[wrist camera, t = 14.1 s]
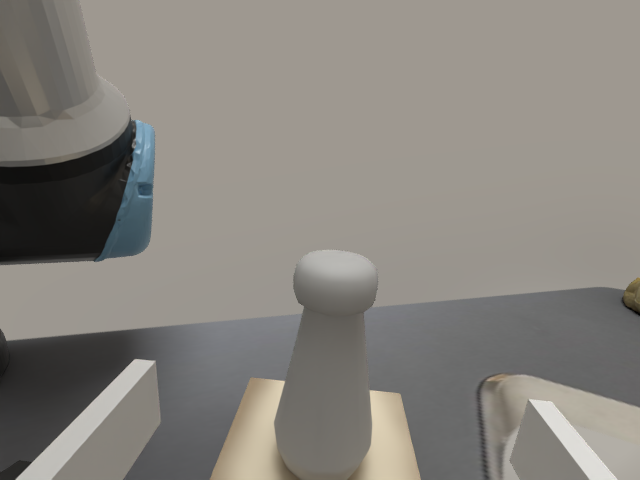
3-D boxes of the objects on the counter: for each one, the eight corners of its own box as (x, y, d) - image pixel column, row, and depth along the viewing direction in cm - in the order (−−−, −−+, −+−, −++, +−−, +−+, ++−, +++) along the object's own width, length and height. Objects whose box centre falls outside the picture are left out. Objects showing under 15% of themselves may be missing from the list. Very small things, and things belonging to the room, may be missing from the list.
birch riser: (179, 607, 15) (175, 564, 14) (250, 407, 26) (250, 377, 25) (437, 644, 14) (450, 601, 13) (395, 423, 26) (400, 393, 25)
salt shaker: (337, 407, 23) (355, 237, 20) (387, 478, 18) (423, 270, 15) (259, 435, 20) (264, 244, 17) (294, 527, 16) (311, 287, 12)
